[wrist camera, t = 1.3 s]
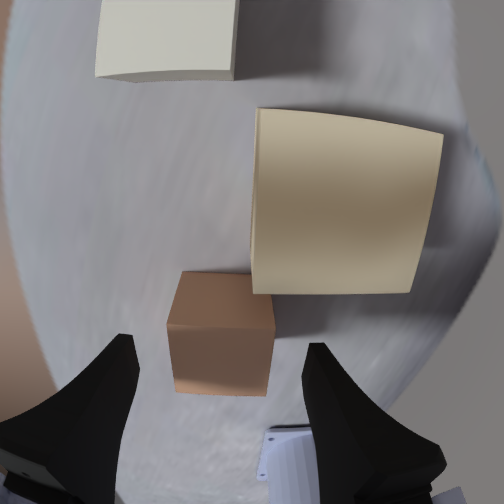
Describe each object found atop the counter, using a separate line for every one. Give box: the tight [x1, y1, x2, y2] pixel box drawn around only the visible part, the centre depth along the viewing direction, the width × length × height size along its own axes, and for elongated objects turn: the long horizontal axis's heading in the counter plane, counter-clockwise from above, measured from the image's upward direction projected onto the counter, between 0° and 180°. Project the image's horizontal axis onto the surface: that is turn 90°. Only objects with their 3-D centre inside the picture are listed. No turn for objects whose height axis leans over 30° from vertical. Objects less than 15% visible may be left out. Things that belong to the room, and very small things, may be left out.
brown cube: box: [167, 272, 276, 396], centre depth 14 cm, size 4×4×4 cm
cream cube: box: [95, 0, 240, 83], centre depth 9 cm, size 4×4×4 cm
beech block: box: [250, 108, 444, 294], centre depth 12 cm, size 6×6×4 cm
